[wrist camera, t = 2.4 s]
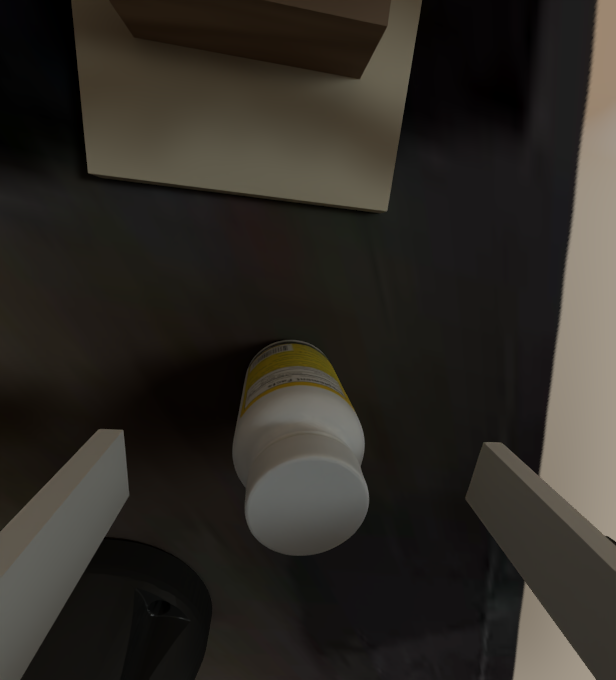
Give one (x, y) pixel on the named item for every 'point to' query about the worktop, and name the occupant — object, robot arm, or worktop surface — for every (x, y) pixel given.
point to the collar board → (247, 95)
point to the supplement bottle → (299, 452)
